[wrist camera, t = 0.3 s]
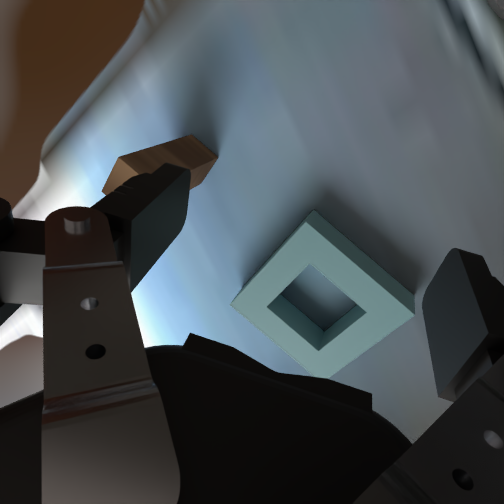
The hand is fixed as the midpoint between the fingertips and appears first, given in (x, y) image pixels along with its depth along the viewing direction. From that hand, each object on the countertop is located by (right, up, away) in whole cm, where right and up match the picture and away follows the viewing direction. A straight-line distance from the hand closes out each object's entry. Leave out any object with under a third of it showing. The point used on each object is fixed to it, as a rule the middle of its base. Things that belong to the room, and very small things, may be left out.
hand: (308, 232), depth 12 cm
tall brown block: (-7, +8, +22) cm, 24 cm away
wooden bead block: (+4, -4, +23) cm, 24 cm away
